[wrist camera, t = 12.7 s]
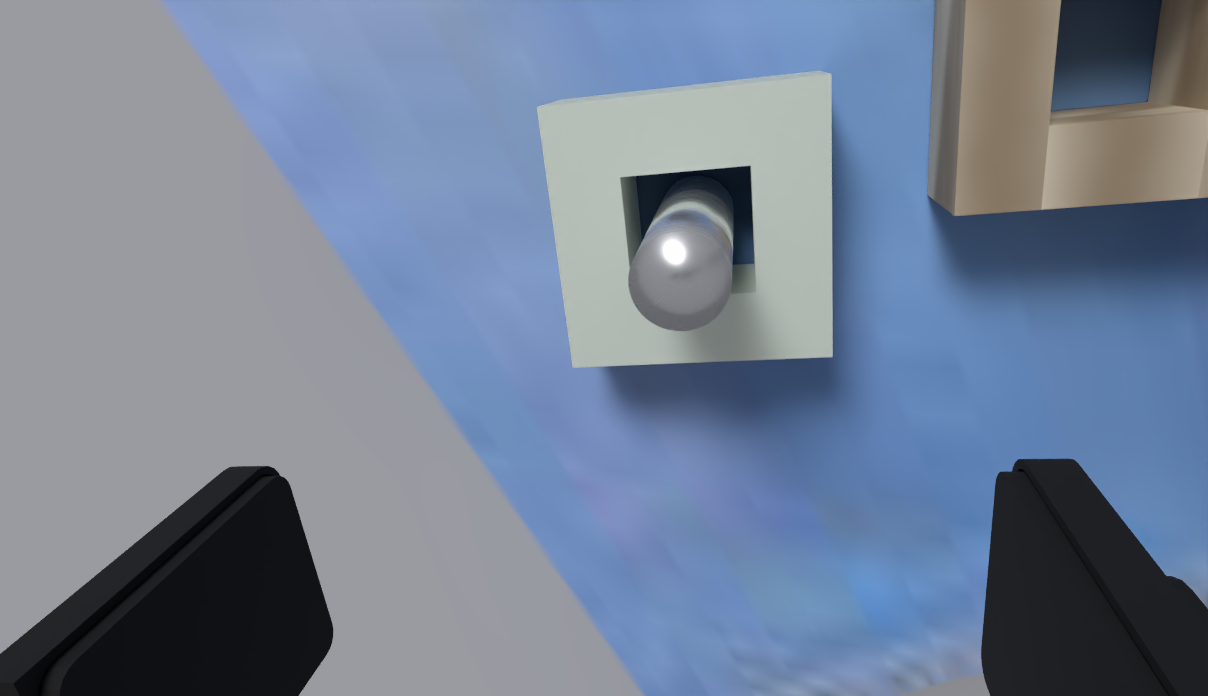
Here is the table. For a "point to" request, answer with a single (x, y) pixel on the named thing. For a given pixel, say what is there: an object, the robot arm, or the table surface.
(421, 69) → the table surface
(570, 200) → the sage socket block
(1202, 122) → the birch mount block
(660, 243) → the metal pin
